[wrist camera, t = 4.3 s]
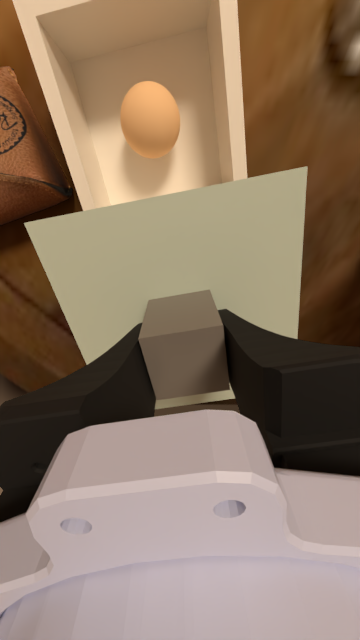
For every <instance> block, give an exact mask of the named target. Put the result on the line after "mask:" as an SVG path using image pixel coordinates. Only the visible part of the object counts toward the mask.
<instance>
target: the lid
mask: <svg viewBox="0 0 360 640" xmlns="http://www.w3.org/2000/svg"><path fill="white" fill-rule="evenodd" d="M306 182H307V167H302V168H297V169H292V170H287V171H282V172H277V173H272V174H267V175H262V176H257V177H252V178H246V179H241V180H236V181H231V182H226V183H221V184H216V185H211V186H206V187H201V188H196V189H191V190H186V191H181V192H176V193H171V194H166V195H161V196H156V197H151V198H146V199H141V200H136V201H131V202H126V203H121V204H116V205H111V206H106V207H101V208H96V209H91V210H86V211H81V212H76V213H71V214H66V215H61V216H56V217H51V218H46V219H41V220H36V221H31V222H26V223H24V225H25V227H26V229H27V231H28V234H29V236H30V238H31V240H32V243H33V245H34V247H35V249H36V252H37V254H38V256H39V258H40V261H41V263H42V265H43V267H44V270H45V272H46V274H47V276H48V279H49V281H50V283H51V285H52V288H53V290H54V292H55V294H56V297H57V299H58V301H59V303H60V306H61V308H62V310H63V313H64V315H65V317H66V319H67V322H68V324H69V326H70V328H71V331H72V333H73V335H74V337H75V340H76V342H77V344H78V346H79V349H80V351H81V353H82V355H83V358H84V360H85V362H86V364H87V365H88V364H89V363H91V362H92V361H94V360H95V359H97V358H98V357H100V356H101V355H102V354H104V353H105V352H106V351H108V350H109V349H110V348H111V347H112V346H114V345H115V344H116V343H117V342H118V341H120V340H121V339H122V338H123V337H124V336H125V335H126V334H127V333H128V332H129V331H131V330H132V329H133V328H134V327H135V326H136V325H137V324H139V323H142V327H141V330H140V334H139V338H138V340H139V343H140V346H141V349H142V353H143V356H144V359H145V363H146V366H147V369H148V373H149V376H150V379H151V383H152V386H153V389H154V393H155V396H156V404H155V409H161V408H168V407H176V406H183V405H190V404H197V403H204V402H211V401H218V400H225V399H233V398H235V396H234V393H233V391H232V388H231V385H230V383H229V376H228V366H227V357H226V347H225V338H224V328H223V323H222V321H221V318H220V315H219V313H218V310H222V309H227V310H229V311H231V312H232V313H234V314H236V315H237V316H239V317H241V318H242V319H244V320H246V321H248V322H250V323H252V324H254V325H256V326H258V327H260V328H263V329H265V330H268V331H271V332H273V333H276V334H279V335H283V336H286V337H290V338H294V339H297V335H298V318H299V301H300V284H301V267H302V250H303V233H304V216H305V199H306Z"/></svg>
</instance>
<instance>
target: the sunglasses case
mask: <svg viewBox="0 0 360 640" xmlns="http://www.w3.org/2000/svg"><path fill="white" fill-rule="evenodd" d="M72 190H73V188H71V187H70V184H69V183H68V182H67V179H66V177H65V175H64V173H63V171H62V169H61V167H60V165H59V163H58V161H57V159H56V157H55V155H54V153H53V151H52V149H51V147H50V145H49V143H48V141H47V139H46V136H45V134H44V132H43V131H42V129H41V127H40V124H39V122H38V121H37V118H36V116H35V114H34V113H33V110H32V108H31V107H30V105H29V103H28V100H27V99H26V97H25V95H24V93H23V92H22V90H21V88H20V86H19V85H18V83H17V79H16V75H15V74H14V72H13V69H12V68H11V67H8V66H4V67H0V225H3V224H6V223H8V222H11V221H13V220H17V219H19V218H22V217H25V216H27V215H30V214H33V213H35V212H38V211H41V210H44V209H47V208H49V207H51V206H55V205H57V204H59V203H61V202H63V201H65V200H67V199H69V198H70V197H71V196H72Z"/></svg>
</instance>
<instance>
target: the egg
mask: <svg viewBox="0 0 360 640" xmlns="http://www.w3.org/2000/svg"><path fill="white" fill-rule="evenodd" d="M120 121H121V128H122V131H123V134H124V137H125V139H126V141H127V143H128V144H129V146H130V147H131V148H132V149H133V150H134V151H135V152H136V153H138V154H139V155H141V156H143V157H146V158H153V159H154V158H159V157H162V156H164V155H166V154H167V153H168V152H169V151H170V150H171V149H172V148H173V147H174V145H175V143H176V141H177V139H178V136H179V131H180V114H179V109H178V106H177V104H176V101H175V99H174V98H173V96H172V95H171V93H170V92H169V91H168V90H167V89H166V88H165V87H164V86H162V85H161V84H159V83H156V82H153V81H143V82H140V83H137V84H136V85H134V86H133V87H132V88H131V89H130V90H129V91H128V92H127V94H126V95H125V97H124V100H123V102H122V106H121V112H120Z"/></svg>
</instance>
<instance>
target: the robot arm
mask: <svg viewBox="0 0 360 640" xmlns="http://www.w3.org/2000/svg"><path fill="white" fill-rule="evenodd" d="M218 313H219V315H220V318H221V321H222V323H223V328H224V338H225V347H226V357H227V366H228V376H229V383H230V385H231V388H232V391H233V393H234V396H235V398H236V401H237V404H238V407H239V410H240V414H239V413H237V412H235V411H228V410H208V409H207V410H199V411H192V412H184V413H177V414H171V415H163V416H156V417H154V410H155V404H156V396H155V393H154V389H153V386H152V383H151V379H150V376H149V373H148V369H147V366H146V363H145V359H144V356H143V353H142V349H141V346H140V343H139V340H138V338H139V334H140V330H141V327H142V323H139V324H137V325H136V326H135V327H134V328H133V329H132V330H131V331H129V332H128V333H127V334H126V335H125V336H124V337H123V338H122V339H121V340H120V341H118V342H117V343H116V344H115V345H114V346H112V347H111V348H110V349H109V350H108V351H106V352H105V353H104V354H102V355H101V356H100V357H98V358H97V359H95V360H94V361H92V362H91V363H89V364H88V365H86V366H84V367H83V368H81V369H79V370H77V371H75V372H74V373H72V374H70V375H68V376H66V377H64V378H62V379H60V380H58V381H56V382H54V383H52V384H49V385H47V386H45V387H43V388H40V389H38V390H35V391H33V392H30V393H27V394H25V395H22V396H20V397H17V398H14V399H12V400H9V401H6V402H4V403H3V404H2V405H1V406H0V487H1V488H2V489H3V492H2V494H1V495H0V640H360V347H353V346H339V345H328V344H321V343H314V342H308V341H303V340H299V339H294V338H290V337H286V336H283V335H279V334H276V333H273V332H271V331H268V330H265V329H263V328H260V327H258V326H256V325H254V324H252V323H250V322H248V321H246V320H244V319H242V318H241V317H239V316H237V315H236V314H234V313H232V312H231V311H229V310H227V309H222V310H218Z"/></svg>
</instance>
